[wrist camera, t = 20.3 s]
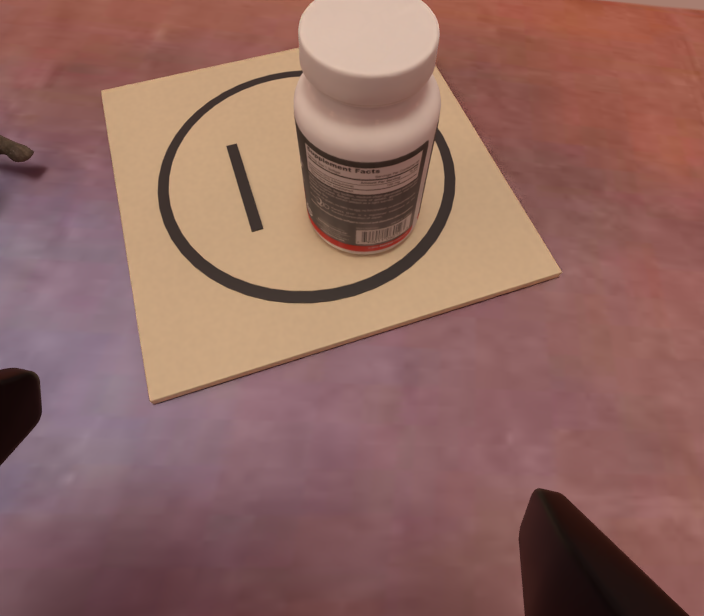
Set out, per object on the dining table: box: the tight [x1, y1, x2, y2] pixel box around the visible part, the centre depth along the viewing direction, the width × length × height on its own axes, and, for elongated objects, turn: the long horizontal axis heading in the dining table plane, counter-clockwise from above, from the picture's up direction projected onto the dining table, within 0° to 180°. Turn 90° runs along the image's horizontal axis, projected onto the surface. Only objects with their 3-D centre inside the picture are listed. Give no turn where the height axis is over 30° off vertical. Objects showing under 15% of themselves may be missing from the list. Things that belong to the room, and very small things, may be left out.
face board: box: [101, 48, 562, 404], centre depth 26 cm, size 20×20×1 cm
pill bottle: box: [293, 0, 441, 254], centre depth 20 cm, size 6×6×10 cm
